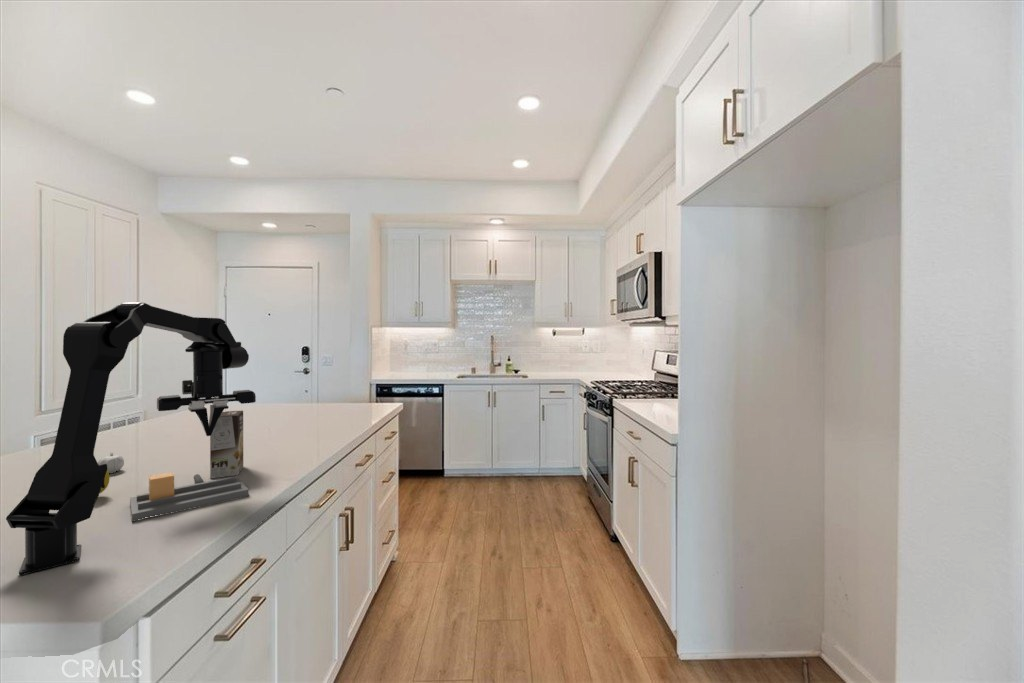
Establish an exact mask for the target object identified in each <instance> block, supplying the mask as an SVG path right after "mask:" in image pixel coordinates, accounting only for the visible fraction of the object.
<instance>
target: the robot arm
mask: <svg viewBox="0 0 1024 683" xmlns="http://www.w3.org/2000/svg"><path fill="white" fill-rule="evenodd" d="M144 327H150V328H153V329H159V330H162V331H167V332H173V333H177V334H180V335H181V336H182V338H184V339H187V340H189V341H191V342H192V343H191V344H190V345H189V346H187V347H186V348H185V350H184V351H185V352H186V353H192V354H193V355H192V356H193V357H192V361H193V362H192V366H193V369H192V372H193V373H192V374H193V378H192V379H185V380H182V382H181V384H182V385H181V388H182V389H181V391H182V392H181V393H182V395H191V396H189V397H182V396H180V395H179V394H176V395H175V394H171V395H160V396H159V397H157V398H156V410H158V412H166V411H175V410H176V411H177V410H178V409H180V408H181V407H184V406H185V407H186V406H188V411H189V412H190V413H195V414H196V415H197V418H198V419H199V421H200V423H201V425H202V427H203V431H204V433H205V435H206V437H210V436H211V435H212V432H213V430H214V427H215V425H216V423H217V420H218V418H219V417H220V415H221V413H222V412H224V410H226V409H227V410H228V409H229V405H228V404H229V402H230V403H231V402H238V403H240V404H254V403H256V402H257V401H256V400H257V399H256V398H257V396H256V393H255V392H254V391H253V390H250V389H241V390H240V389H239V390H233V391H232V393H230V394H229V393H227V394H224V391H223V390H224V389H223V388H224V385H223V384H224V380H223V379H224V378H223V377H224V376H223V371H224V370H227V369H237V368H243V367H245V366H246V365H247V363H248V362H249V359H250V358H249V357H250V356H249V355H250V354H249V353H248V351H247V349H246V348H245V347H243V346H242V342H241V341H236V338H235V337H234V335H233V334H232V332H231V329H229V326H228V325H227V323H226V321H225V320H224V319H222V318H219V317H198V316H196V317H195V316H191V315H186V314H183V313H180V312H175V311H171V310H167V309H164V308H159V307H156V306H152V305H150V304H148V303H146V302H122V303H120V304H118V305H116V306H114V307H113V308H111V309H109V310H107V311H104V312H102V313H99V314H96V315H95V316H91V317H89V318H87V319H86V320H84V321H80V322H75V323H73V324H72V325H69V326H67V327H66V329H65V331H64V333H63V340H62V341H63V342H62V343H63V344H62V355H63V356H64V357H63V358H64V359H65V361H66V363H67V365H68V367H69V369H70V373H69V377H68V380H67V381H68V382H67V387H66V390H65V395H64V400H63V404H62V409H61V413H60V414H61V415H60V418H59V422H58V426H57V427H58V428H57V433H56V437H55V441H54V446H53V451H52V454H51V456H50V457H49V458H48V460H46V461H45V462H44V464H42V466H41V467H40V468H39V469H38V470H37V471H36V473H35V474H34V476H33V480H32V481H31V484H30V486H29V489H28V491H27V494H26V495H25V496H24V497H23V498H22V499H21V500H20V501H19V503H18V504H17V505H16V506H15V507H14V508H13V509H12V511H10V512H9V514H8V515H7V516H6V518H5V520H6V522H7V523H8V525H9V527H10V529H18V528H19V529H24V533H25V534H24V538H25V539H24V540H25V541H24V545H25V549H24V552H25V557H24V558H23V561H22V562H21V565H20V568H19V570H18V576H23V575H26V574H27V575H28V574H30V573H34V572H39V571H43V570H46V569H51V568H55V567H58V566H62V565H67V564H70V563H73V562H74V563H75V562H77V561H80V558H81V552H82V551H81V550H82V544H78V523H81V522H84V521H85V520H89V519H90V518H91V516H92V513H93V511H94V507H95V504H96V501H97V499H98V498H99V496H100V494H101V493H100V490H101V488H105V484H104V478H105V475H106V472H107V464H98V461H97V459H96V457H95V454H94V453H95V448H96V442H97V437H98V433H99V428H100V425H101V424H100V422H101V418H102V412H103V408H104V405H105V404H104V403H105V398H106V395H107V394H106V393H107V388H108V383H109V378H110V374H111V372H112V371H113V370H114V369H115V368H116V367H117V365H119V364H120V363H121V361H122V360H124V358H125V355H126V352H127V349H128V348H129V345H130V343H131V342H132V341H133V340H134V339H135V340H136V338H137V337H139V336H140V335H141V334H142V332H143V330H144ZM207 404H210V406H209V408H210V409H209V416H208V408H207V407H205V405H207ZM50 511H57V512H50Z"/></svg>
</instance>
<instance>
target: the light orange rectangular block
mask: <svg viewBox="0 0 1024 683" xmlns="http://www.w3.org/2000/svg"><path fill="white" fill-rule="evenodd" d="M174 488H175V475H174V472H173V471H170V472H165V473H164V472H163V473H160V474H159V473H158V474H154V475H153V474H152V475H149V476H148V493H149V500H153V499H158V498H163V497H168V496H173V495H174Z"/></svg>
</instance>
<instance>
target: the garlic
mask: <svg viewBox="0 0 1024 683" xmlns="http://www.w3.org/2000/svg"><path fill="white" fill-rule="evenodd" d="M109 454H110V455H107V456H105V457H103V458H101V459H100V458H99V460H98V461H97V463H98V464H107V470H108V472H109V473H110V474H113V473H112V472H114V473H116V471H117V472H118V471H120V470H122V469H123V468H124V466H125V459H124V458H123V456H121V455H117V454H115V455H114V452H110V453H109Z"/></svg>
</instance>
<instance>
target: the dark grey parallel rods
mask: <svg viewBox="0 0 1024 683" xmlns="http://www.w3.org/2000/svg"><path fill="white" fill-rule="evenodd" d="M201 476H202V475H200V474H199V473H196V474H194V476H193V480H194V482H195V484H197V483H203V482H205V481H204V479H203V478H202V477H201Z"/></svg>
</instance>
